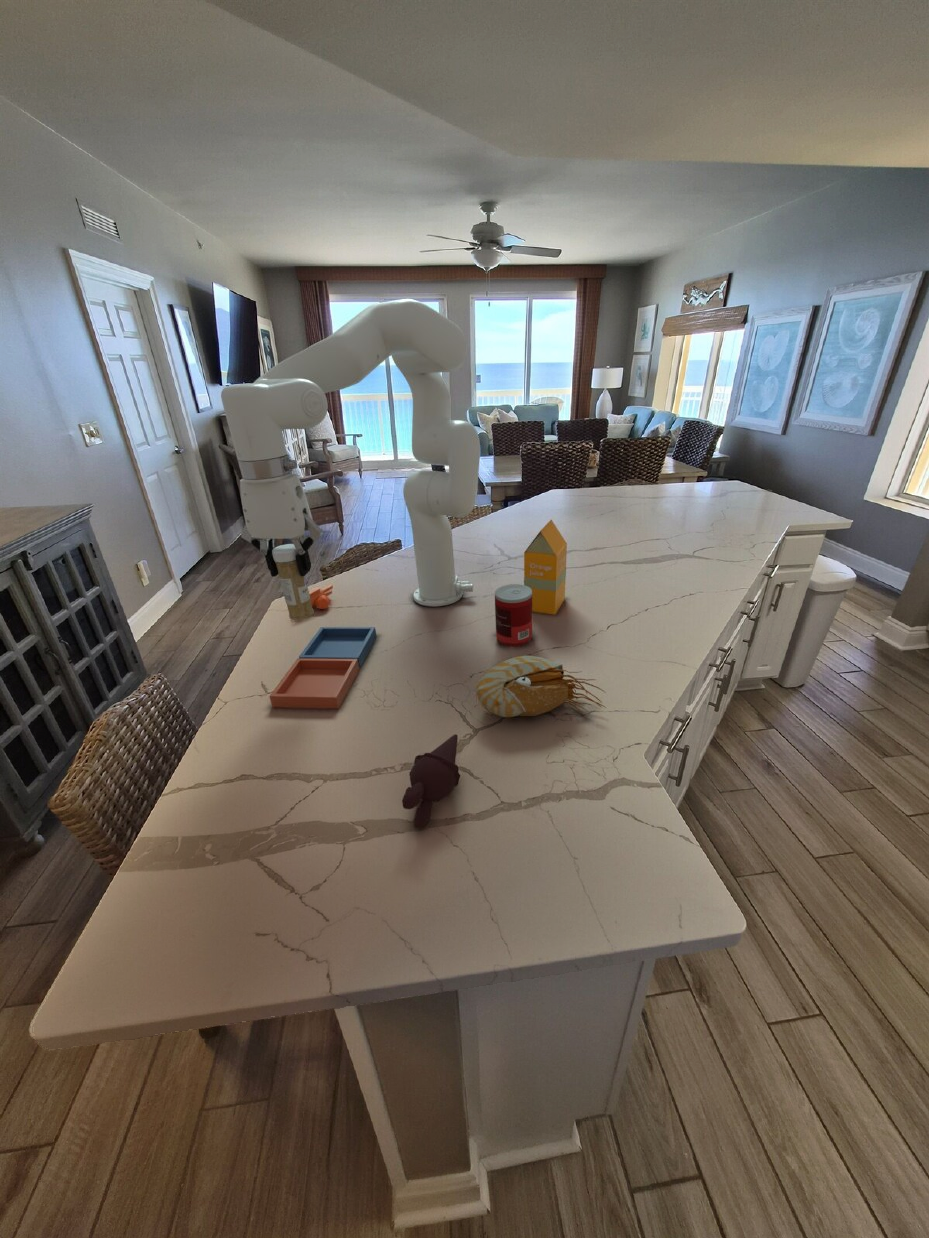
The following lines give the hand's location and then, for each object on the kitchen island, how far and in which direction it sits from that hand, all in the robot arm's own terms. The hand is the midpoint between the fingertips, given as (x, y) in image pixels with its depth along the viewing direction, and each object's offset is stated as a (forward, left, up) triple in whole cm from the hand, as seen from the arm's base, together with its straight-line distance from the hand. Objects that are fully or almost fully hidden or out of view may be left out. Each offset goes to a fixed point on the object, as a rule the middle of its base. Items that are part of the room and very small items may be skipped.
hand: (291, 572), depth 88 cm
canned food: (-39, -15, -22) cm, 47 cm away
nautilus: (-44, +9, -22) cm, 50 cm away
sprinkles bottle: (0, 0, -9) cm, 9 cm away
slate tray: (-2, -9, -22) cm, 24 cm away
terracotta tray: (-2, +4, -22) cm, 23 cm away
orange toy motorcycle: (+11, -30, -22) cm, 39 cm away
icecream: (-29, +28, -22) cm, 46 cm away
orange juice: (-46, -31, -22) cm, 60 cm away
